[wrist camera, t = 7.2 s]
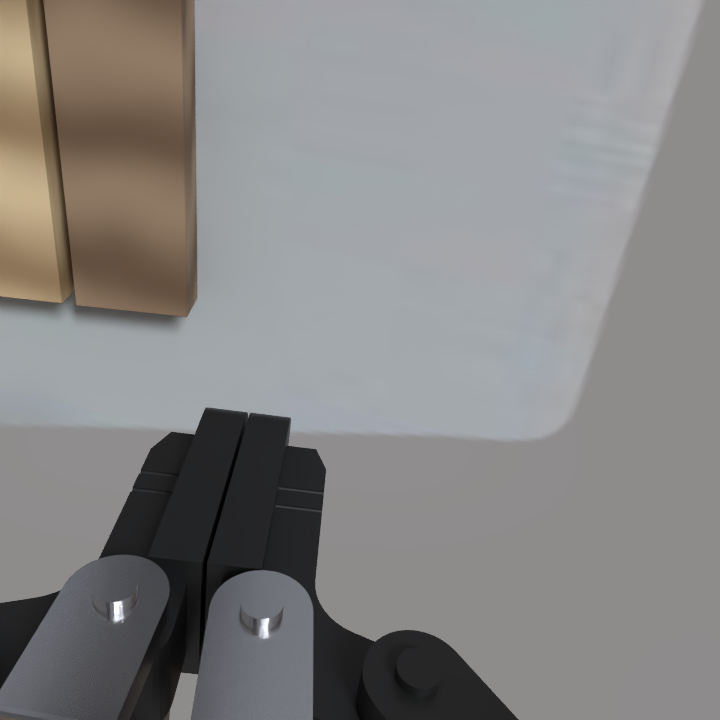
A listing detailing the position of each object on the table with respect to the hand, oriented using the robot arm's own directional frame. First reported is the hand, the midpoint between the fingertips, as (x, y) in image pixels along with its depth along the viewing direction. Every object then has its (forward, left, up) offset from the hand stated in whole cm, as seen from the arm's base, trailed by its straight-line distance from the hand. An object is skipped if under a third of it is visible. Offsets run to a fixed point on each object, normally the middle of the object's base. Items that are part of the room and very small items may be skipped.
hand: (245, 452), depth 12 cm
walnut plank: (0, -10, -26) cm, 28 cm away
